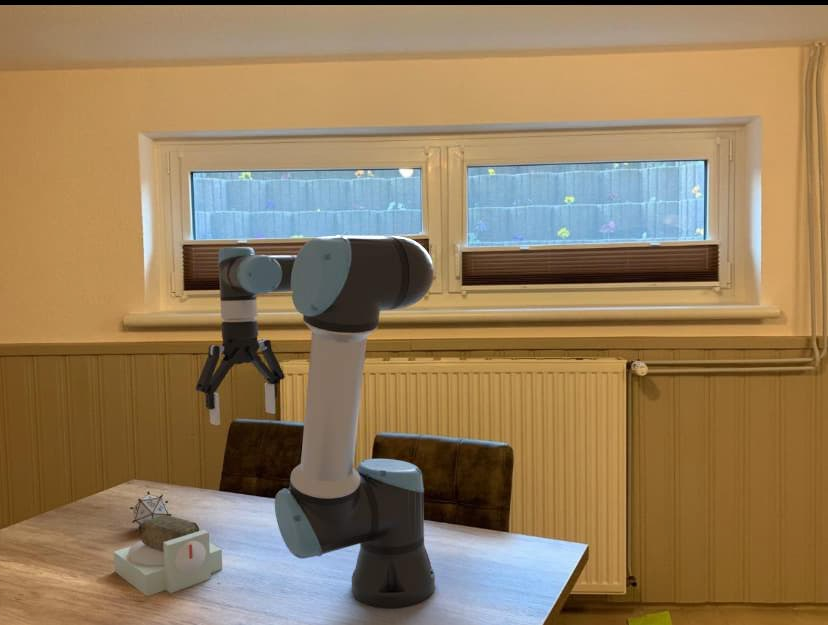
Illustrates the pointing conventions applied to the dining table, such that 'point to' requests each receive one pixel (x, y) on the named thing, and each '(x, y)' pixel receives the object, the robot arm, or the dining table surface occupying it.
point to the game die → (149, 509)
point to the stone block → (165, 530)
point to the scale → (169, 563)
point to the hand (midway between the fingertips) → (243, 418)
